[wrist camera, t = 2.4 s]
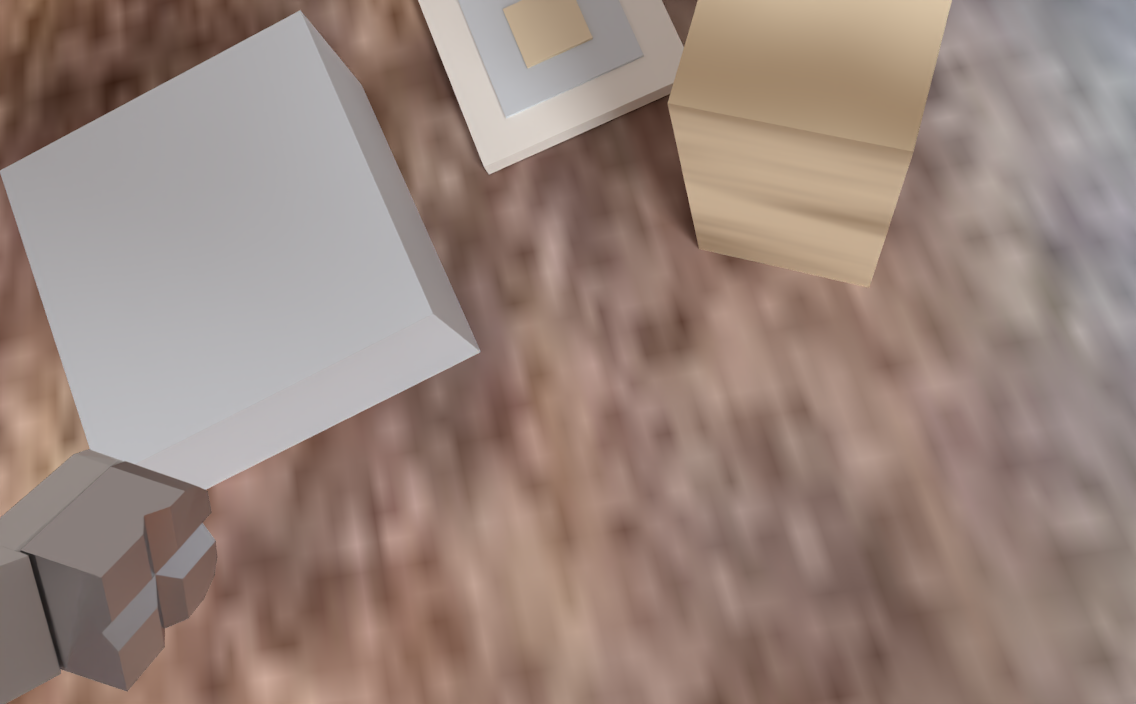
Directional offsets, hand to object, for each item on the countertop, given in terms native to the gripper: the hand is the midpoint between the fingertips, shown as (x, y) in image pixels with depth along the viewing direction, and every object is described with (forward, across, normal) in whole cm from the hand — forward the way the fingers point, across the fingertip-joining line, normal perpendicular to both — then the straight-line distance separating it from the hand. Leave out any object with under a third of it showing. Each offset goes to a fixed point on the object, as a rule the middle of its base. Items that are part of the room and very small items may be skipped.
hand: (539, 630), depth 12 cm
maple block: (+22, -1, +4) cm, 23 cm away
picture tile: (+25, +8, +2) cm, 26 cm away
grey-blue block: (+18, +14, +10) cm, 25 cm away
